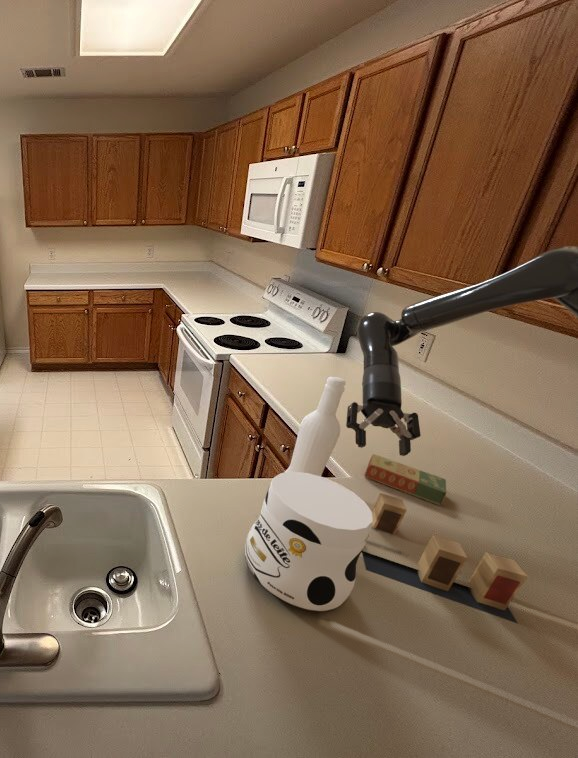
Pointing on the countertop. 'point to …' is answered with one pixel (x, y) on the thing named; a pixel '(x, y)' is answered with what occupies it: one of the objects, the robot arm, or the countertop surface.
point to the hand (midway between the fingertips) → (382, 450)
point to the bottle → (318, 432)
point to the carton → (407, 479)
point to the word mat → (412, 578)
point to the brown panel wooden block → (441, 563)
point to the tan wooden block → (388, 513)
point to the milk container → (308, 540)
